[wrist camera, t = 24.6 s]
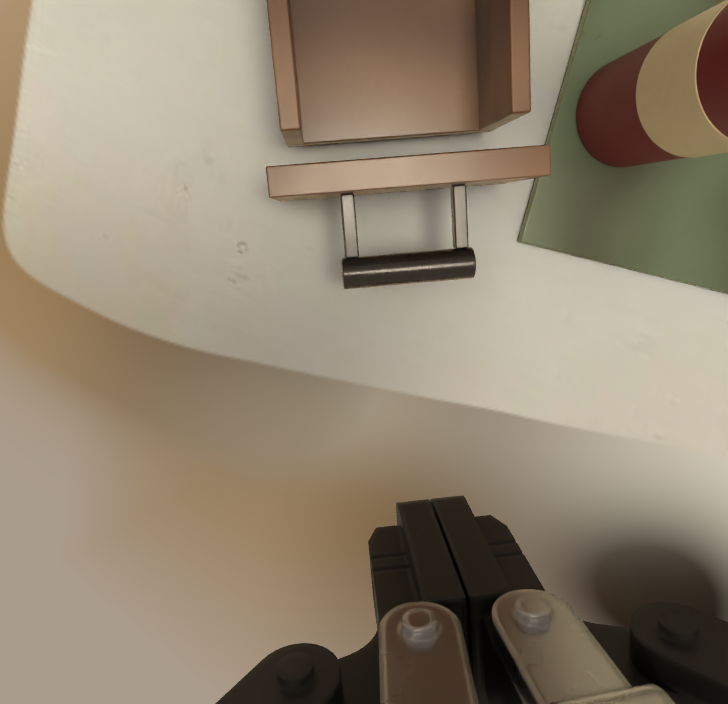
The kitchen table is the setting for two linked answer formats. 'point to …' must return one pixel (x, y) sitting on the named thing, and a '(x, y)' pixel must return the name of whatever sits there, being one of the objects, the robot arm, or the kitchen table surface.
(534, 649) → the robot arm
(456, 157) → the drawer
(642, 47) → the tube
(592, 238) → the board
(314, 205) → the kitchen table surface
